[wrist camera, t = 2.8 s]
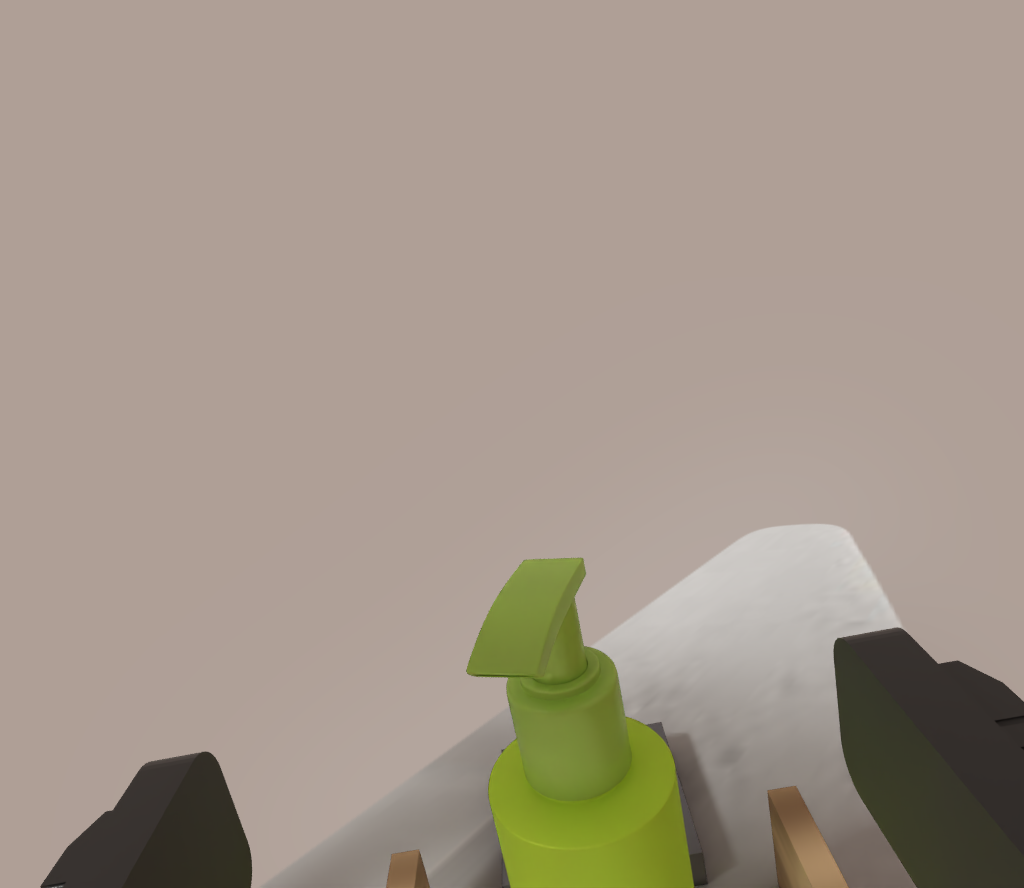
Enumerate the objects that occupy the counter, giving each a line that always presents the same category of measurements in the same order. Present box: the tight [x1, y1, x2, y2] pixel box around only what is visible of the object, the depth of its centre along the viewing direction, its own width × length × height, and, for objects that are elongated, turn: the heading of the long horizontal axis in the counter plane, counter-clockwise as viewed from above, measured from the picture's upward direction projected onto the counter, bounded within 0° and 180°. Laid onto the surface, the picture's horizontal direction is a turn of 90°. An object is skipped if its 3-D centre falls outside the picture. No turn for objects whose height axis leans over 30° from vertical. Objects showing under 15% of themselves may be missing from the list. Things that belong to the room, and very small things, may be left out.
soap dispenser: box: [466, 558, 694, 888], centre depth 24 cm, size 6×7×20 cm
